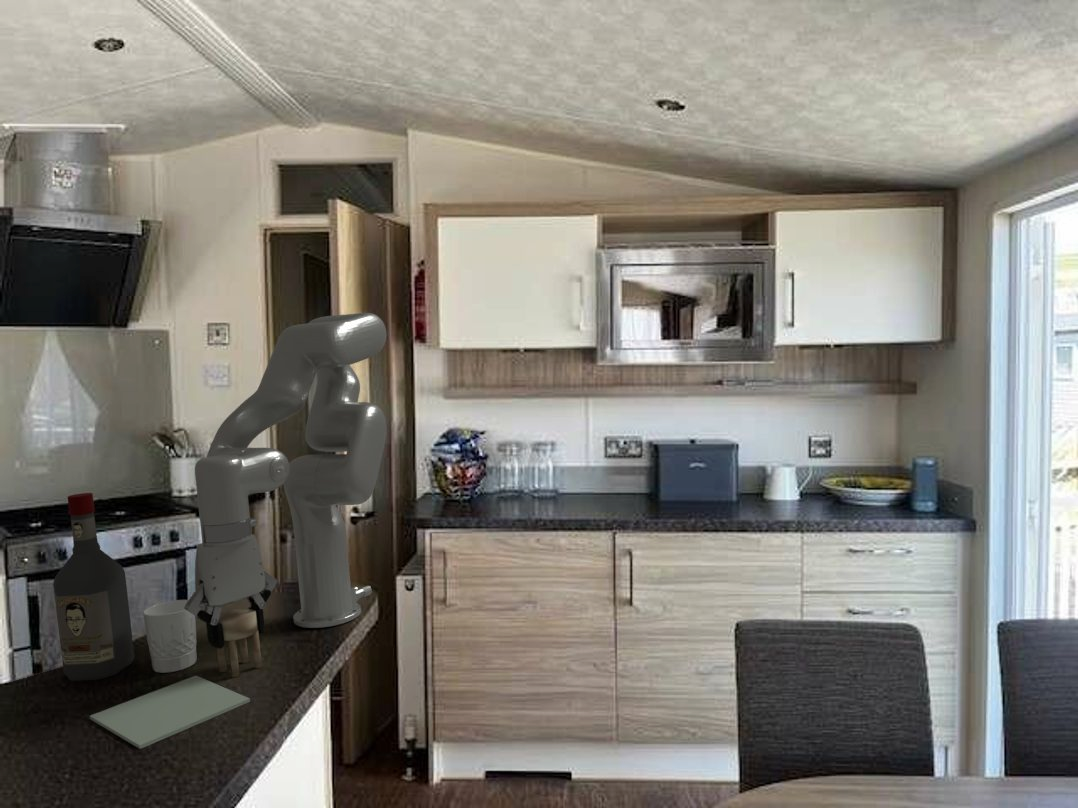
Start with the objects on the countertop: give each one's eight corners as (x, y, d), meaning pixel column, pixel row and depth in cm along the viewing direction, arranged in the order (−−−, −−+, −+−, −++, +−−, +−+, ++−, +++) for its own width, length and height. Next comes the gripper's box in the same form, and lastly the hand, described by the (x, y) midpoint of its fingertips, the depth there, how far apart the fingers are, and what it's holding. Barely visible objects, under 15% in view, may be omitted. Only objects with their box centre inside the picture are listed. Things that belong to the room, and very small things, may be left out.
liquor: (91, 660, 139) (71, 491, 137) (141, 657, 139) (122, 488, 136) (56, 682, 130) (34, 502, 128) (110, 680, 130) (89, 499, 127)
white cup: (180, 675, 130) (174, 615, 129) (138, 674, 131) (132, 615, 130) (210, 656, 137) (204, 599, 136) (169, 655, 139) (163, 599, 138)
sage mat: (196, 678, 128) (195, 675, 128) (250, 701, 118) (249, 698, 118) (90, 719, 115) (89, 715, 115) (140, 749, 105) (139, 745, 105)
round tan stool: (247, 658, 135) (242, 606, 134) (268, 665, 131) (263, 612, 130) (212, 671, 130) (206, 618, 129) (233, 680, 126) (227, 625, 125)
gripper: (261, 518, 138) (271, 618, 139) (162, 542, 124) (174, 653, 126) (286, 522, 133) (296, 626, 134) (185, 547, 120) (198, 662, 121)
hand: (237, 638), depth 130 cm, fingers closed on round tan stool, 6 cm apart
